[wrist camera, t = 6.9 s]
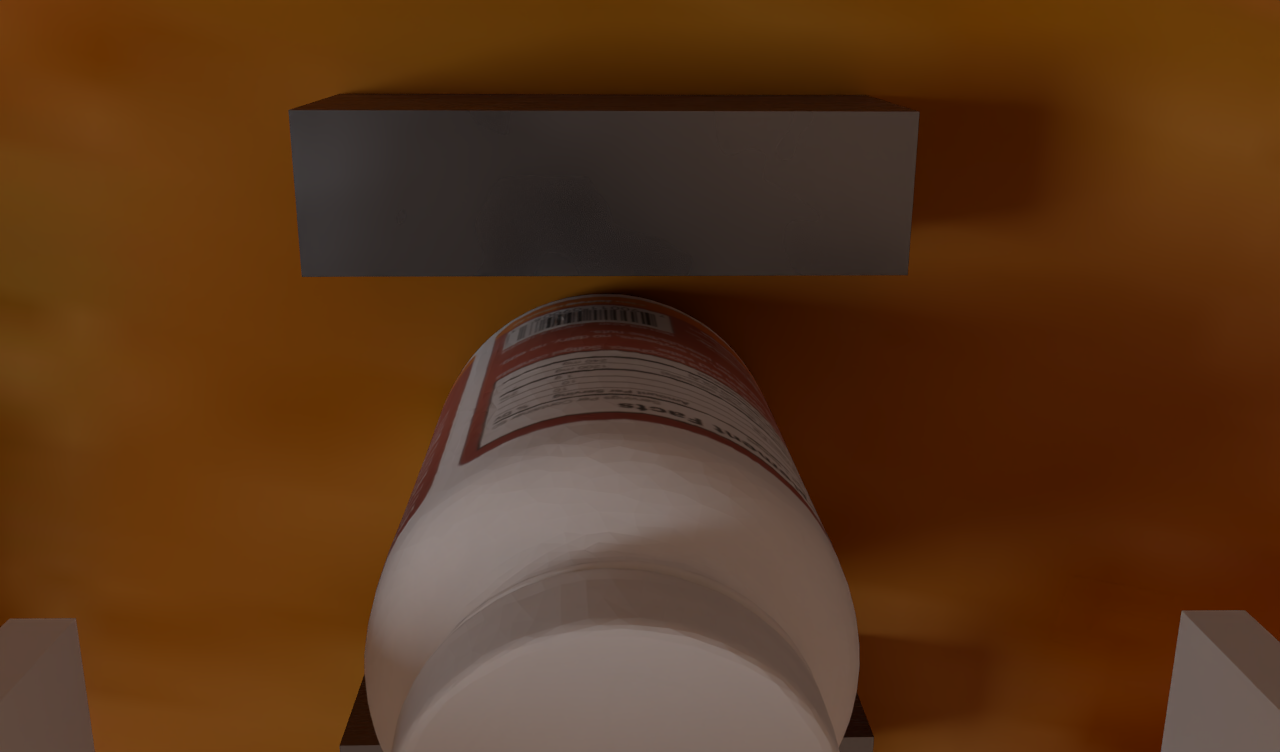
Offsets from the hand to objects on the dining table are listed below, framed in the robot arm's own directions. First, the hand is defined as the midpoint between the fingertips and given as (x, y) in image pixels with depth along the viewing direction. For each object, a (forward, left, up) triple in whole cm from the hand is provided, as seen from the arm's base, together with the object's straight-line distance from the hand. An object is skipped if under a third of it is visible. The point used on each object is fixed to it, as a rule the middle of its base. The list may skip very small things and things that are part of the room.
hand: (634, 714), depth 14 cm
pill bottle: (0, 0, -9) cm, 9 cm away
